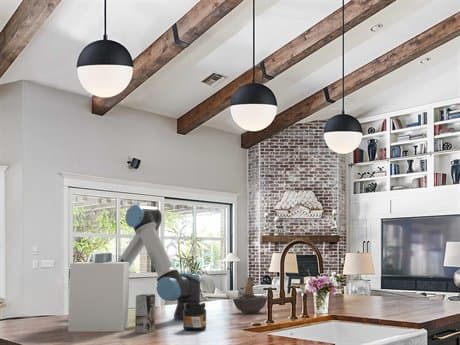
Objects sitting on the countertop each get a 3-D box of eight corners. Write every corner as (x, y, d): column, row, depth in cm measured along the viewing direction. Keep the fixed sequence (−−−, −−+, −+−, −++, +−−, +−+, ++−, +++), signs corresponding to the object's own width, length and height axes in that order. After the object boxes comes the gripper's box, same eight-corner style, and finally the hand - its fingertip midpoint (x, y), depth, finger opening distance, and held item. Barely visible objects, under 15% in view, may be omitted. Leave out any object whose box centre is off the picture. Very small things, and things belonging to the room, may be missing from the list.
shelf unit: (128, 325, 298) (129, 261, 301) (122, 331, 277) (123, 263, 280) (77, 325, 297) (79, 261, 300) (68, 331, 276) (70, 263, 280)
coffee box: (148, 333, 272) (149, 295, 274) (134, 332, 274) (135, 295, 276) (155, 330, 281) (155, 293, 283) (141, 329, 283) (142, 293, 284)
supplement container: (197, 332, 275) (197, 304, 276) (178, 330, 281) (178, 303, 282) (210, 329, 284) (210, 302, 285) (191, 327, 290) (192, 301, 291)
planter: (269, 312, 354) (268, 276, 356) (254, 315, 340) (254, 277, 342) (246, 310, 362) (246, 275, 364) (231, 313, 348) (231, 277, 350)
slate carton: (111, 261, 310) (111, 252, 310) (103, 262, 286) (103, 253, 287) (103, 261, 310) (103, 252, 310) (94, 262, 286) (95, 253, 286)
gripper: (134, 283, 322) (130, 264, 305) (86, 284, 322) (78, 264, 305) (135, 270, 327) (131, 250, 310) (87, 270, 326) (80, 250, 309)
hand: (105, 257), depth 307 cm, fingers open, 13 cm apart
